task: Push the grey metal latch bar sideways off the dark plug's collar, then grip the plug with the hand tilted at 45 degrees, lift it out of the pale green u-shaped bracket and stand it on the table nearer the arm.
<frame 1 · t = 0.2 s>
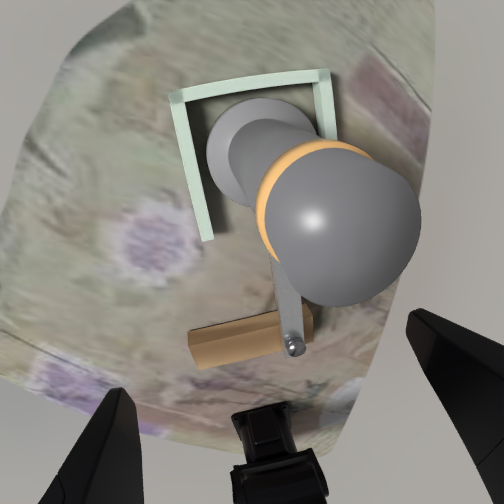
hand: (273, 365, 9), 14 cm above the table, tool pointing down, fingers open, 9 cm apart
latch rail: (249, 331, 27), on the table
plug: (290, 177, 14), in the pale green u-shaped bracket
latch: (288, 292, 22), point 3 cm above the table, slide at 0.0 cm
pale green u-shaped bracket: (260, 150, 20), on the table
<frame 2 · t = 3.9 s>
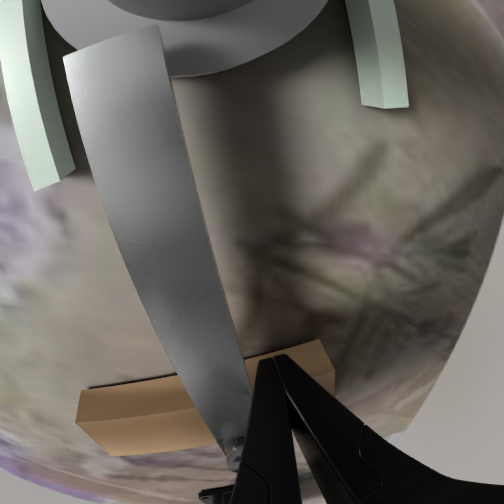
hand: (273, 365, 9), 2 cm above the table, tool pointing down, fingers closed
latch rail: (203, 393, 12), on the table
latch: (202, 349, 7), point 3 cm above the table, slide at 1.7 cm, touching gripper
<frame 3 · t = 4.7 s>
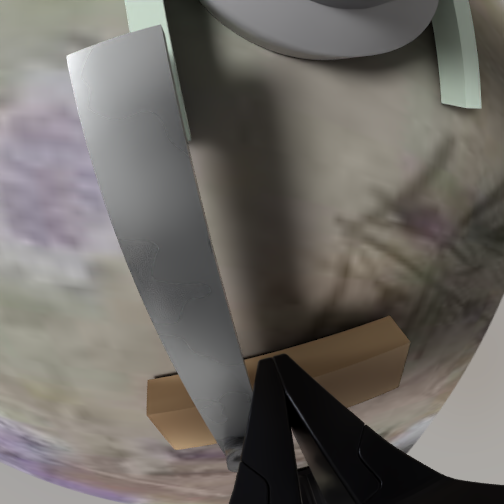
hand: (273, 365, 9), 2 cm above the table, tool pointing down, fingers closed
latch rail: (277, 375, 13), on the table
latch: (203, 349, 7), point 3 cm above the table, slide at 4.9 cm, touching gripper
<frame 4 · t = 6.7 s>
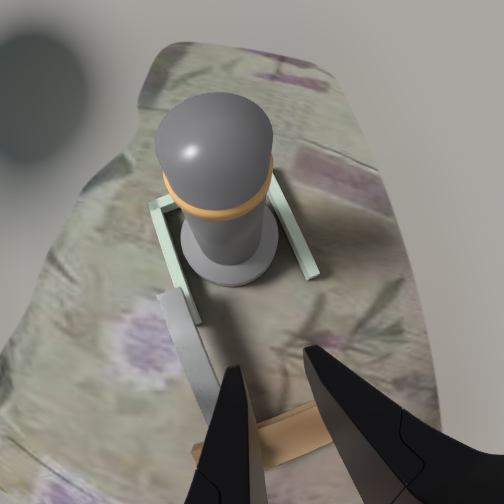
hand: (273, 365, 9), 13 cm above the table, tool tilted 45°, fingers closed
latch rail: (267, 440, 20), on the table
plug: (224, 204, 18), in the pale green u-shaped bracket
latch: (206, 389, 18), point 3 cm above the table, slide at 5.0 cm
pale green u-shaped bracket: (230, 241, 24), on the table
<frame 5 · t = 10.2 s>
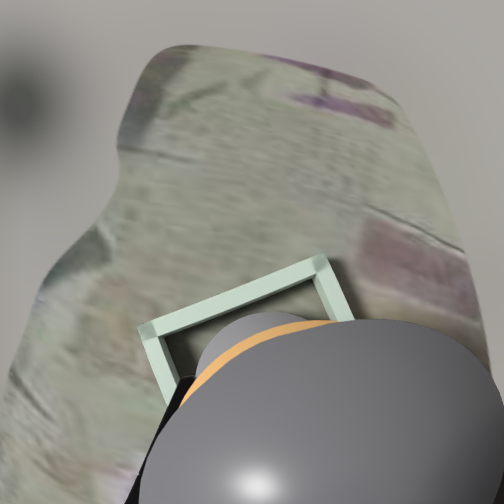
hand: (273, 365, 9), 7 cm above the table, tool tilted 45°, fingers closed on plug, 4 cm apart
plug: (284, 409, 9), in the pale green u-shaped bracket, touching gripper
pale green u-shaped bracket: (269, 382, 15), on the table
when the fingers open (7 cm above the table, at t = 13.5 s): plug stays where it is, on the table.
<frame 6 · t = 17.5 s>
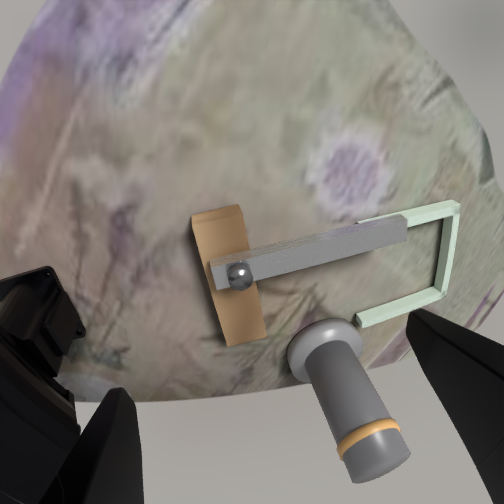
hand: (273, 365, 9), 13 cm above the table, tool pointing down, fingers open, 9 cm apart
latch rail: (230, 275, 23), on the table
plug: (349, 401, 22), on the table
latch: (319, 252, 19), point 3 cm above the table, slide at 5.0 cm
pale green u-shaped bracket: (406, 261, 25), on the table
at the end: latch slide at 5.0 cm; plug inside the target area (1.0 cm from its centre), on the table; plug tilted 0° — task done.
